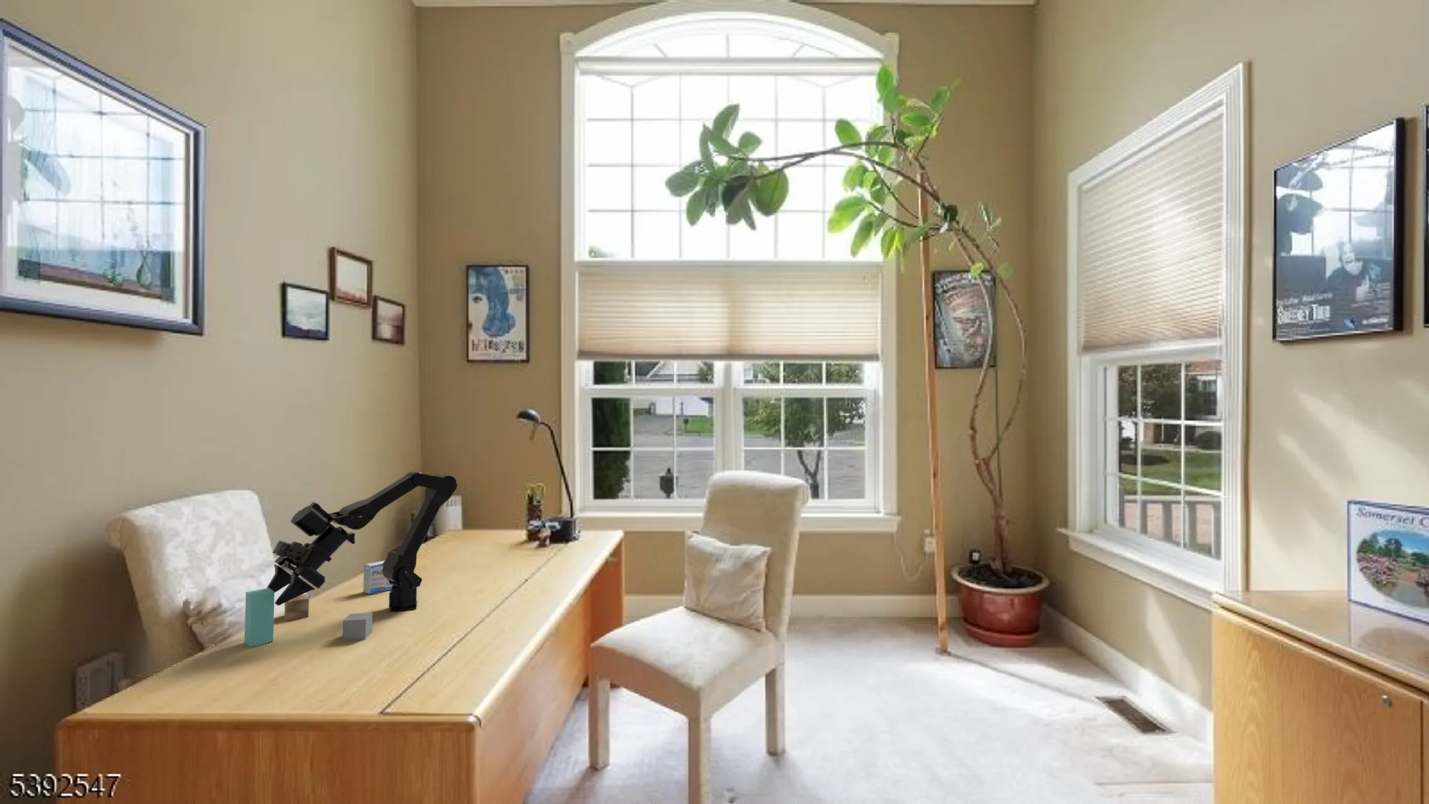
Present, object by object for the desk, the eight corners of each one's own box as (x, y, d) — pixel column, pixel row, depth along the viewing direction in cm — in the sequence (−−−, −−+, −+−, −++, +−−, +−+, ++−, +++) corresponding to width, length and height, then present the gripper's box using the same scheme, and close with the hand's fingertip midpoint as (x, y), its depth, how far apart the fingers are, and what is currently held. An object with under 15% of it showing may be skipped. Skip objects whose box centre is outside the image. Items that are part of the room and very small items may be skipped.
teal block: (267, 637, 149) (268, 587, 149) (273, 641, 146) (274, 591, 146) (244, 642, 145) (245, 592, 145) (250, 647, 142) (251, 595, 142)
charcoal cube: (371, 632, 153) (372, 612, 153) (365, 639, 148) (365, 619, 148) (349, 633, 152) (350, 613, 152) (342, 641, 147) (343, 620, 147)
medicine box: (369, 595, 183) (370, 566, 183) (362, 592, 185) (363, 563, 185) (396, 589, 189) (396, 561, 189) (389, 586, 192) (390, 558, 192)
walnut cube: (306, 612, 167) (307, 593, 167) (308, 617, 163) (308, 598, 163) (284, 615, 164) (284, 597, 164) (285, 621, 160) (286, 601, 160)
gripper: (285, 523, 157) (230, 574, 149) (311, 533, 146) (254, 589, 137) (318, 548, 163) (268, 599, 155) (346, 560, 152) (293, 616, 143)
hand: (270, 600), depth 147 cm, fingers open, 9 cm apart
